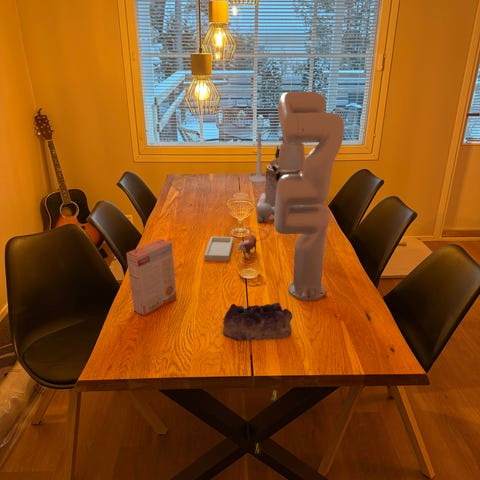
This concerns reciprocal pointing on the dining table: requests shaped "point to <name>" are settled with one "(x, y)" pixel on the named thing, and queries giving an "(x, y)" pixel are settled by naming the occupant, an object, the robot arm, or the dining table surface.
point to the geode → (257, 322)
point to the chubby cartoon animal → (265, 212)
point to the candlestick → (258, 165)
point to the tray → (219, 249)
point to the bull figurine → (247, 245)
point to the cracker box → (152, 276)
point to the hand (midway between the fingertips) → (290, 182)
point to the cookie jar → (273, 182)
